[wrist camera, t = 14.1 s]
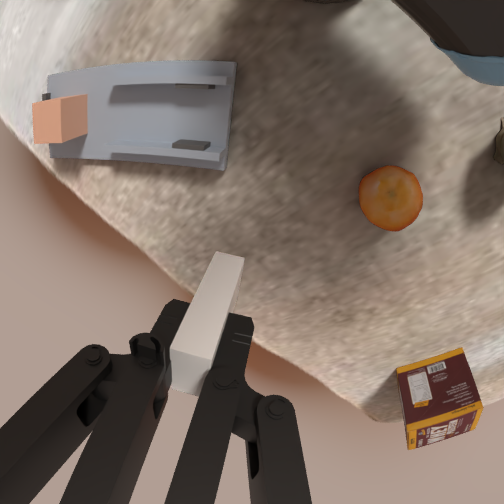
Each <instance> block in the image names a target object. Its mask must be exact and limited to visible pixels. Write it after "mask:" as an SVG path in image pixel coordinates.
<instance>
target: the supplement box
mask: <svg viewBox="0 0 504 504" xmlns="http://www.w3.org/2000/svg"><path fill="white" fill-rule="evenodd" d="M396 371H397V380H398V388H399V395H400V400H401V406H402V412H403V419H404V425H405V432H406V440H407V448H408V450H411V449H415V448H419V447H422V446H425V445H429V444H432V443H435V442H438V441H441V440H445V439H448V438H451V437H454V436H457V435H460V434H463V433H465V432H468V431H471V430H473V429H475V427H476V425H477V423H478V420H479V418H480V415H481V413H482V410H483V405H482V402H481V399H480V396H479V393H478V390H477V387H476V384H475V381H474V378H473V376H472V373H471V370H470V367H469V365H468V362H467V359H466V357H465V354H464V351H463V349H462V347H461V348H458V349H456V350H453V351H450V352H447V353H444V354H441V355H438V356H435V357H432V358H429V359H426V360H423V361H419V362H416V363H413V364H409V365H406V366H402V367H399V368H396Z"/></svg>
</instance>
